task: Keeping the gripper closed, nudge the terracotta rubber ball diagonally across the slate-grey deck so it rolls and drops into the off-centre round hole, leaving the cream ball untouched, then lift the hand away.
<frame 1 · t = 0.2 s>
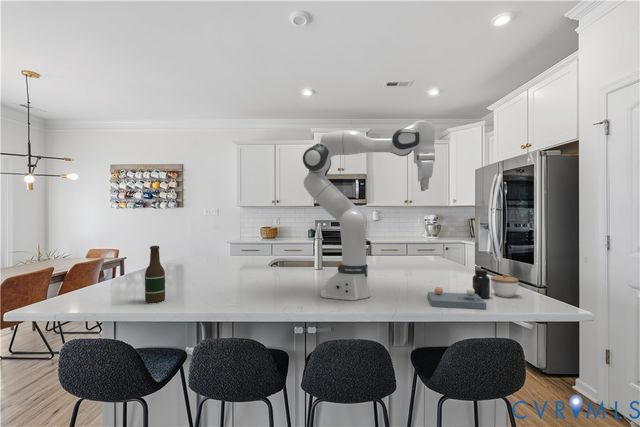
hand: (424, 190, 140), 47 cm above the countertop, fingers open, 8 cm apart
supplement bottle: (481, 297, 142), on the countertop
cream ball: (470, 291, 136), point 4 cm above the countertop, touching deck
terracotta ball: (438, 290, 137), point 4 cm above the countertop, touching deck
deck: (455, 303, 133), on the countertop
lidded jar: (504, 295, 145), on the countertop
beer bottle: (155, 302, 139), on the countertop
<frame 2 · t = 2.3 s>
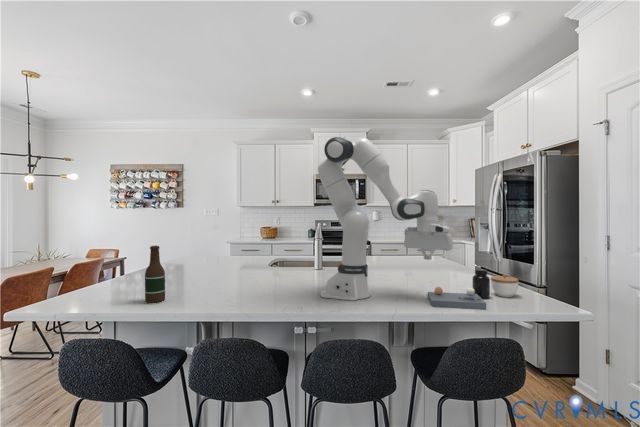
hand: (427, 259, 140), 17 cm above the countertop, fingers closed
nothing on the countertop moved.
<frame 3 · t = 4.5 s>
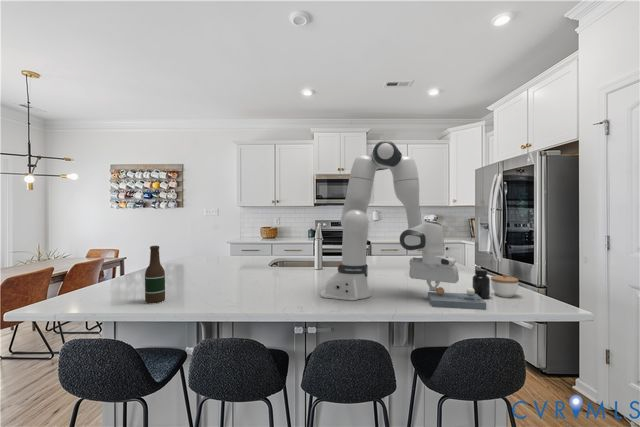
hand: (433, 291, 139), 4 cm above the countertop, fingers closed
terracotta ball: (440, 291, 137), point 4 cm above the countertop, tilted 28°, touching deck, gripper
everything else where it was.
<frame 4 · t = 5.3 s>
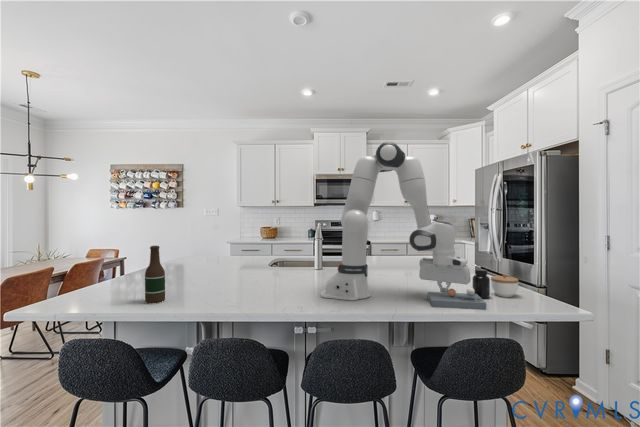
hand: (444, 292, 136), 4 cm above the countertop, fingers closed
terracotta ball: (451, 292, 134), point 4 cm above the countertop, tilted 168°, touching deck
everything else where it was.
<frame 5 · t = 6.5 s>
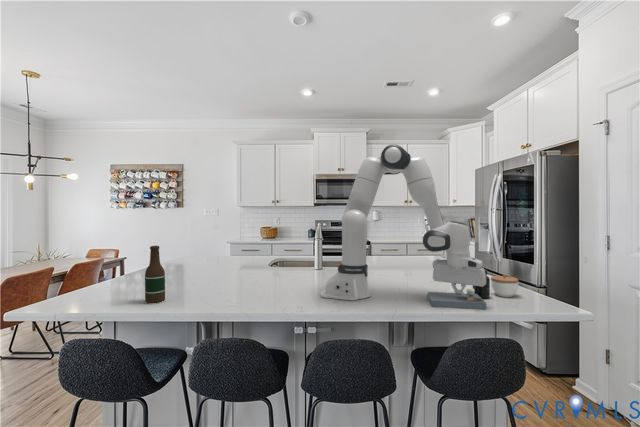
hand: (458, 294, 133), 4 cm above the countertop, fingers closed
terracotta ball: (470, 301, 130), point 2 cm above the countertop, tilted 128°
everything else where it was.
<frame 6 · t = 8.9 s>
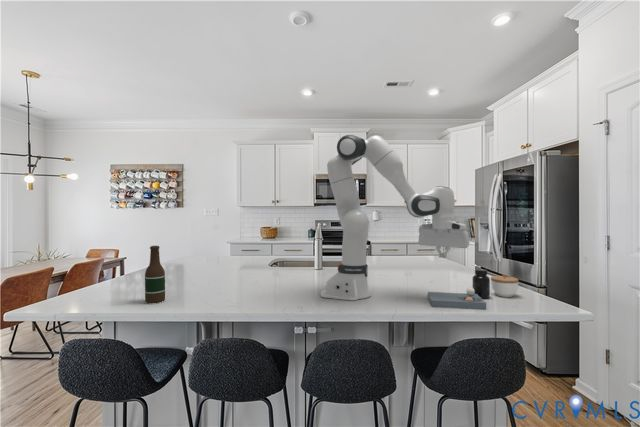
hand: (442, 257, 137), 18 cm above the countertop, fingers closed
terracotta ball: (469, 301, 130), point 2 cm above the countertop, tilted 108°
everything else where it was.
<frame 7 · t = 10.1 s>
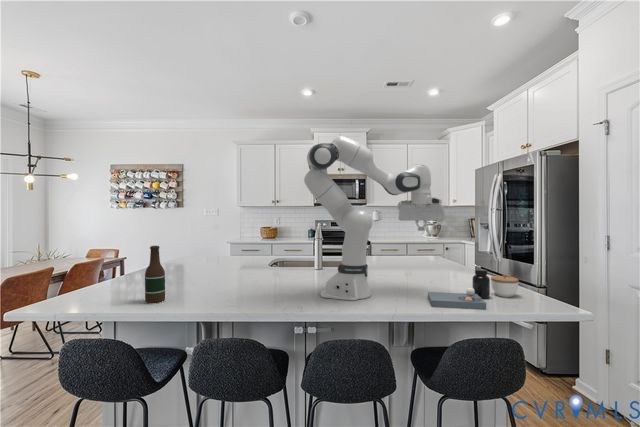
hand: (421, 230, 148), 29 cm above the countertop, fingers closed
terracotta ball: (468, 301, 130), point 2 cm above the countertop, tilted 98°
everything else where it was.
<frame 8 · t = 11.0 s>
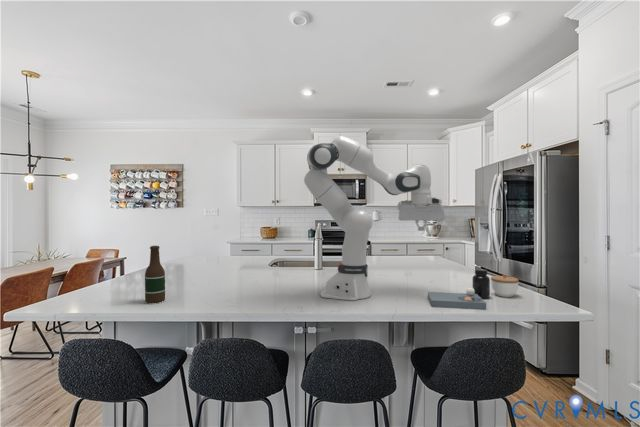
hand: (421, 230, 148), 29 cm above the countertop, fingers closed
terracotta ball: (468, 301, 130), point 2 cm above the countertop, tilted 91°
everything else where it was.
at the end: terracotta ball 0.4 cm from the target spot in the deck, point 1.6 cm above the deck's base; cream ball moved 0.0 cm from its start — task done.
